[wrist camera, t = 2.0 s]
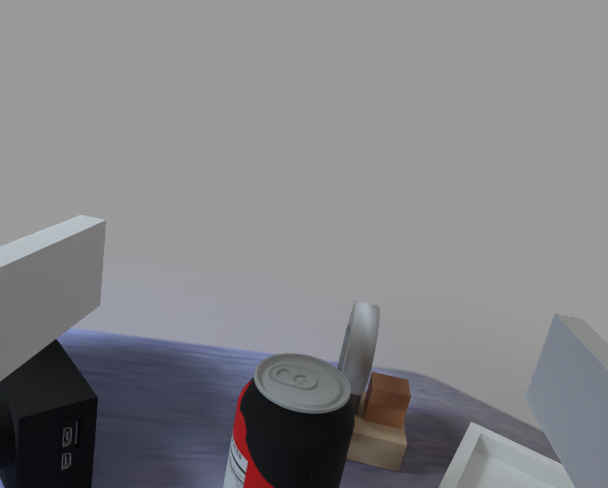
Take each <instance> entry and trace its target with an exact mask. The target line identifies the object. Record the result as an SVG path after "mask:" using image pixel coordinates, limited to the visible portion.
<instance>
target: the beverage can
mask: <svg viewBox="0 0 608 488" xmlns="http://www.w3.org/2000/svg"><path fill="white" fill-rule="evenodd" d="M350 393H351V386H350V383H349V381H348V379H347V378H346V377H345V375H344V374H343V373H342V372H341V371H340V370H338V369H337V368H336V367H334V366H333V365H331V364H329V363H327V362H325V361H323V360H321V359H318V358H315V357H312V356H307V355H302V354H278V355H274V356H271V357H268V358H266V359H264V360H263V361H261V362H260V363H259V364H258V365H257V367H256V369H255V373H254V377H253V378H252V379H251V380H250V381H249V382H248V383H247V384H246V386H245V387H244V388H243V390H242V392H241V394H240V396H239V398H238V403H237V409H236V415H235V421H234V427H233V432H232V438H231V444H230V450H229V456H228V461H227V467H226V473H225V479H224V485H223V488H339V485H340V481H341V477H342V473H343V469H344V465H345V461H346V457H347V453H348V450H349V446H350V442H351V438H352V434H353V430H354V425H355V418H354V411H353V408H352V405H351V403H350V400H349V397H350Z"/></svg>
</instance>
